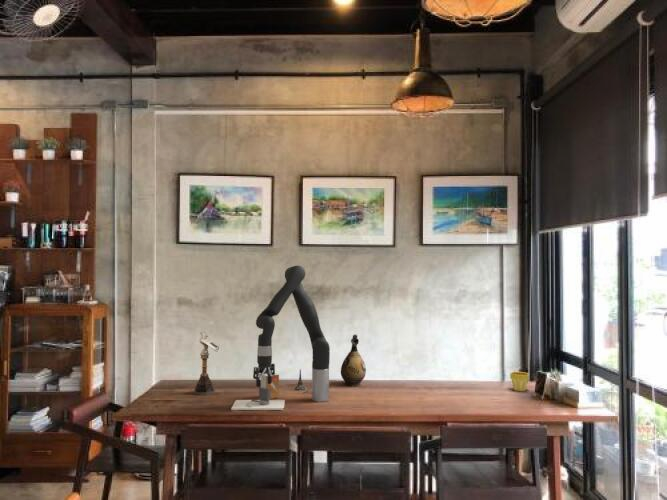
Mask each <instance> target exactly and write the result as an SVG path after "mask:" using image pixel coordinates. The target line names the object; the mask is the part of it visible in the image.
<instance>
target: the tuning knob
mask: <svg viewBox="0 0 667 500" xmlns="http://www.w3.org/2000/svg"><path fill="white" fill-rule="evenodd" d="M251 400H252V401H255V402H260V404H261V405H267V404H269V400H271V399H270V388H265V387H258V399H251ZM257 400H260V401H257Z"/></svg>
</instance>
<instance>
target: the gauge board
mask: <svg viewBox="0 0 667 500" xmlns="http://www.w3.org/2000/svg"><path fill="white" fill-rule="evenodd" d="M252 400H253V399H236V400H235V401H234V403H233V405H232V406H231V408H230V411H231V410H283V411H284V409H283V408H285V403H286V400H285V399H270V400H269V404H267V405H261V404H260V402H255V401H252ZM256 400H257V401H260V399H256Z"/></svg>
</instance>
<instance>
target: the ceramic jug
mask: <svg viewBox="0 0 667 500" xmlns="http://www.w3.org/2000/svg"><path fill="white" fill-rule="evenodd" d="M359 341H360V340H359V338H358V334H353V335H352V338H351V340H350V342H351V349H350V351H349V352H348V354H347V355H346V356H345V358H344V359H343V361H342V364H341V368H340V376H341V378H342V380H343V382H344V385H345V386H349V387H357V386H360V385H361V383H362V381H363V380H364V379H365V377H366V374H367V370H366V364H365V361H364V360H363V357H362V356H361V354H360V352H359V350H358V347H357V346H358V345H359Z"/></svg>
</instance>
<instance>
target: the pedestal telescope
mask: <svg viewBox="0 0 667 500" xmlns="http://www.w3.org/2000/svg"><path fill="white" fill-rule="evenodd" d="M199 334H200V338H199V343H200V344H201V345H202V346H203V349H202V350H201V353H199V355H200V359H201V361H202V362H201V363H202V364H201V370H202V371H201V373H200V376H199V378H198V380H197V382H196V386H195V388H194V391H193V395H196V396H209V395H213V394H215V393H216V388H214V385H213V382H212V380H211V379H210V377H209V373H208V372H207V371H208V365H207V364H208V359H209V356H210V353H209V350H208V349H209V347H210V348H211V349H212V350H214V351H215V352H218V350H219V349H220V344H218V345H217V344H216V343H214V342H213V341H210V340H209V338H208V335H207V334H206V335H205V333H204V332H199Z"/></svg>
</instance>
